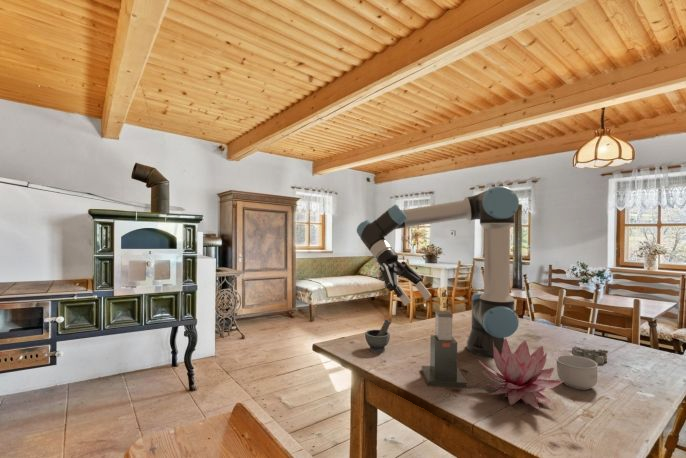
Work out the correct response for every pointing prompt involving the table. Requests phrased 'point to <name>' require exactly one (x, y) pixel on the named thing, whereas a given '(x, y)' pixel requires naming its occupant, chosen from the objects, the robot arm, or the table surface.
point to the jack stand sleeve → (443, 365)
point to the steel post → (443, 326)
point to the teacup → (577, 371)
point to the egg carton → (591, 354)
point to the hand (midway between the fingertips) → (418, 300)
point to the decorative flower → (522, 374)
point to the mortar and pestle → (378, 338)
